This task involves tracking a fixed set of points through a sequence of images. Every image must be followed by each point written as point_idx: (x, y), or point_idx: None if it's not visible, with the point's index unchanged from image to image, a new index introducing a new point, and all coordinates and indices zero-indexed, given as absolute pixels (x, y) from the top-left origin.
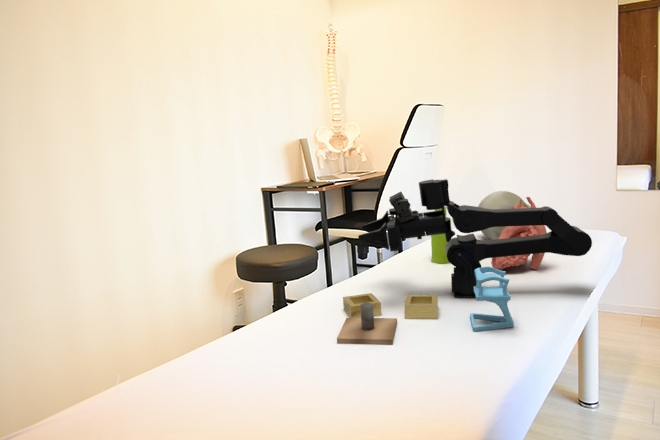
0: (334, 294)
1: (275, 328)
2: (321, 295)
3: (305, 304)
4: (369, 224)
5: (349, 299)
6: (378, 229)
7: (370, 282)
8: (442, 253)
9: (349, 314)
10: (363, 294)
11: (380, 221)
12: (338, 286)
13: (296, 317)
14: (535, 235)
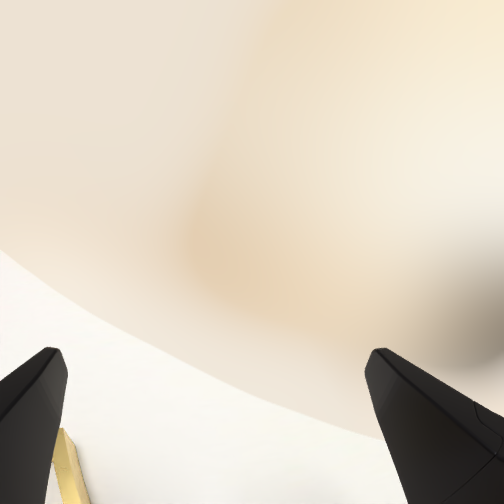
0: (212, 420)
1: (18, 316)
2: (204, 389)
3: (134, 359)
4: (409, 390)
5: None
6: (420, 481)
7: (348, 499)
8: None
9: None
10: (73, 491)
11: (481, 462)
12: (290, 419)
13: (55, 345)
14: None
